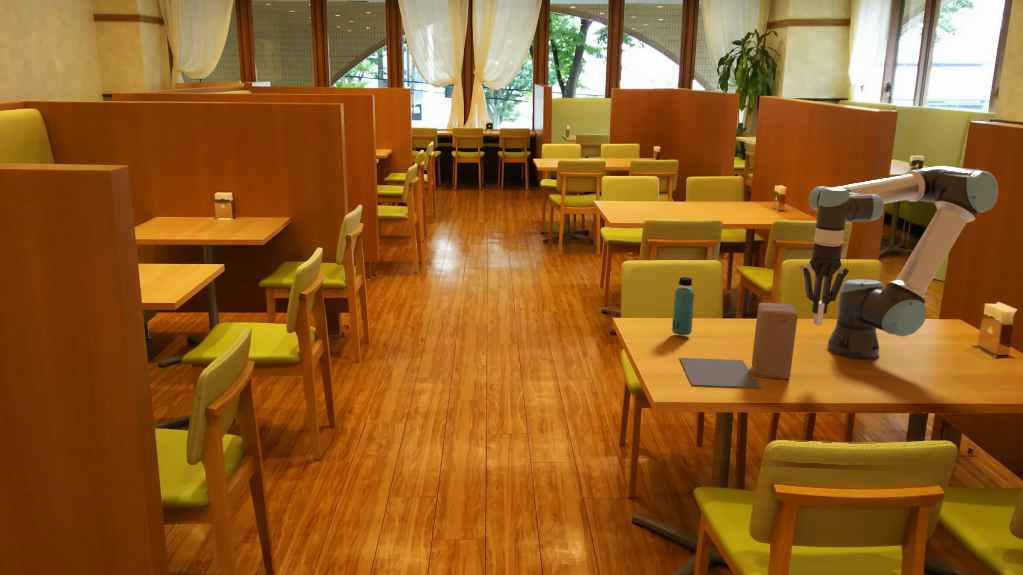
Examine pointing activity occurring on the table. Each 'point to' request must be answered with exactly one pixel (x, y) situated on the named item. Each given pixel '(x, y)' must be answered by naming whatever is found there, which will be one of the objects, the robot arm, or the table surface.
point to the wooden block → (774, 340)
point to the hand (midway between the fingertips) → (817, 323)
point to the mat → (718, 373)
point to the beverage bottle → (683, 308)
